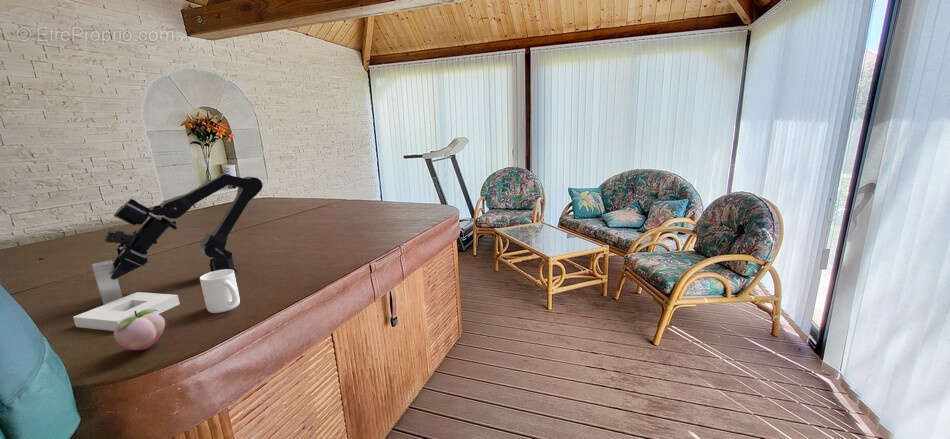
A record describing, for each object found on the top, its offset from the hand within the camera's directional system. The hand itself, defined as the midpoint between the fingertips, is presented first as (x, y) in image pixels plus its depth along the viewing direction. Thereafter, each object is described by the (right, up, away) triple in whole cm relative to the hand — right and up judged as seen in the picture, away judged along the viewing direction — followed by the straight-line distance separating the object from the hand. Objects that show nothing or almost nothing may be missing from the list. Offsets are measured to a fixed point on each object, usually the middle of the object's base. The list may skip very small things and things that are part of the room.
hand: (111, 275), depth 114 cm
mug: (+40, -9, -6) cm, 42 cm away
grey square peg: (0, -9, +1) cm, 9 cm away
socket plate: (+13, -10, -8) cm, 18 cm away
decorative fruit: (+34, -14, -26) cm, 45 cm away
